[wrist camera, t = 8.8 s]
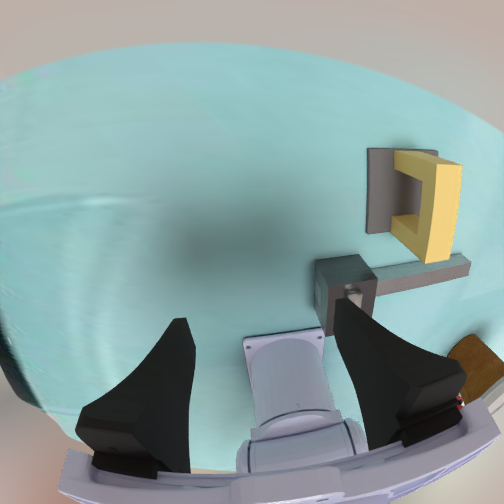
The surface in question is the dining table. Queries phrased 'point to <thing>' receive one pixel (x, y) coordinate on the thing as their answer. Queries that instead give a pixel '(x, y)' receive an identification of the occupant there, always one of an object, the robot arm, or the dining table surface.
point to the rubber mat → (390, 190)
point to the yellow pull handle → (429, 205)
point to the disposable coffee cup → (480, 372)
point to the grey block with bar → (374, 281)
